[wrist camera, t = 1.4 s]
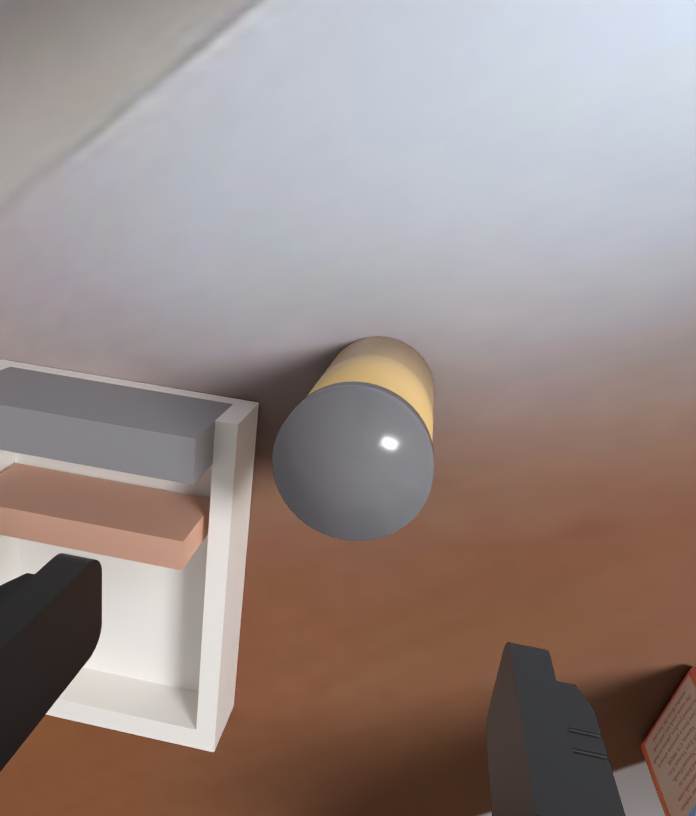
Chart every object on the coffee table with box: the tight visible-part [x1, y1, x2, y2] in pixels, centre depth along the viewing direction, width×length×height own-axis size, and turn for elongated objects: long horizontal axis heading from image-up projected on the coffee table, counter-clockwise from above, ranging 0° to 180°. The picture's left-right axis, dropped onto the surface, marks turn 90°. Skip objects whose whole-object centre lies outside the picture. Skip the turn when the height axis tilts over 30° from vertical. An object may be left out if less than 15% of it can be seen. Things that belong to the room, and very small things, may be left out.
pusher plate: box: [0, 463, 210, 570], centre depth 29 cm, size 1×10×4 cm, turn 83°
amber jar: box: [272, 336, 435, 541], centre depth 24 cm, size 5×5×9 cm
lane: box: [0, 360, 259, 752], centre depth 31 cm, size 18×13×5 cm
